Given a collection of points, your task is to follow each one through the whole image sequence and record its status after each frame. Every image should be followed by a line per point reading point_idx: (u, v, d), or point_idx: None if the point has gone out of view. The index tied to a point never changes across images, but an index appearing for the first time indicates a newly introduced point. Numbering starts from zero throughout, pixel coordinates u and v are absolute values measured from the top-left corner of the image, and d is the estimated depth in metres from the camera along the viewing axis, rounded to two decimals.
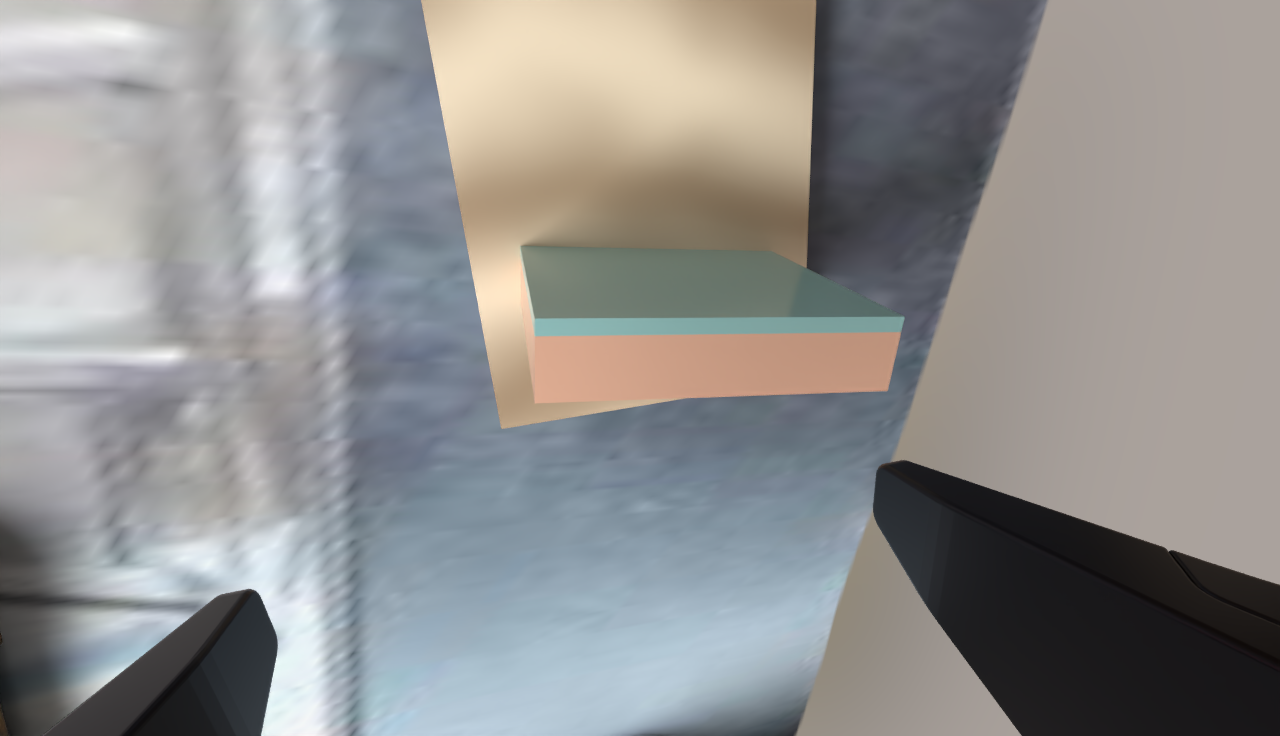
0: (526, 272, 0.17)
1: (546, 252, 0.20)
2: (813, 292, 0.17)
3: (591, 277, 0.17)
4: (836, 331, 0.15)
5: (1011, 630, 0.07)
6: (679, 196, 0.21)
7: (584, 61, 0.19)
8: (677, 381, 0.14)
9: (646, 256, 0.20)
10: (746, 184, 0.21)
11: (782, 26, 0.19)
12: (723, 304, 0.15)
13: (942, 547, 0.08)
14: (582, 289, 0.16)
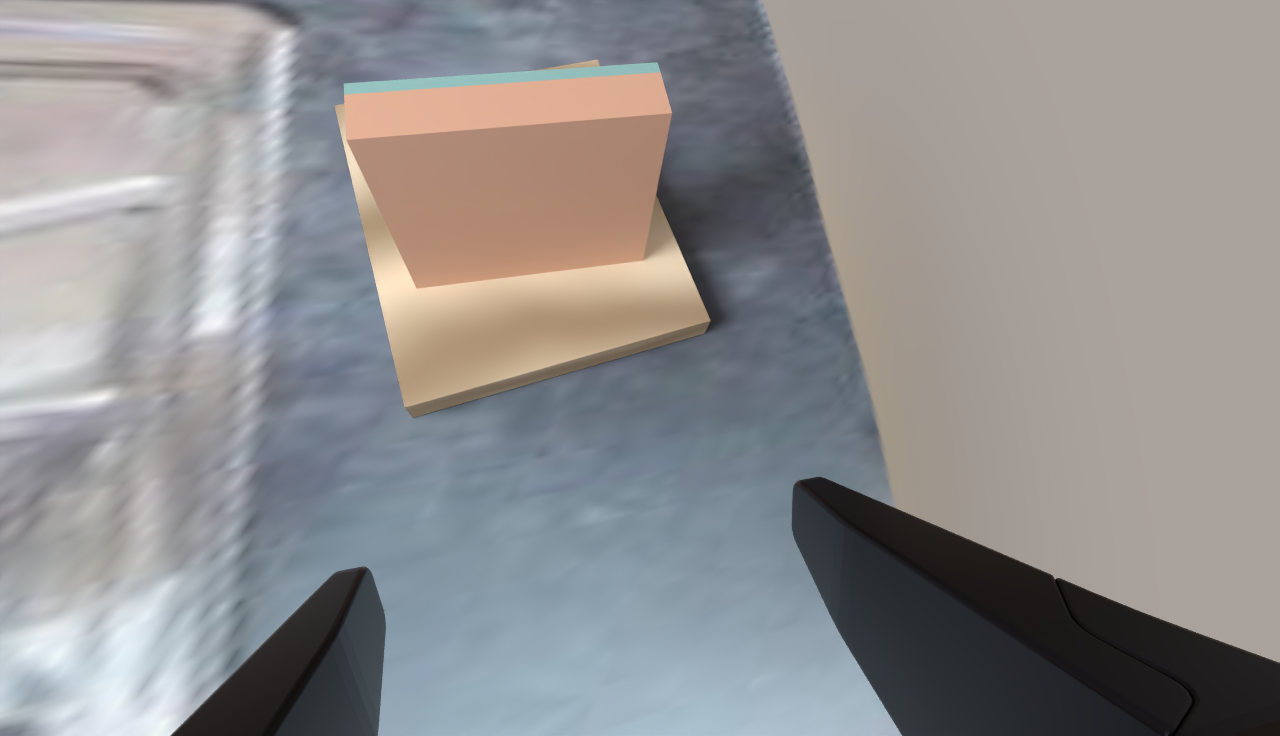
0: None
1: None
2: None
3: None
4: (604, 79, 0.18)
5: (906, 657, 0.07)
6: None
7: None
8: (471, 117, 0.17)
9: None
10: None
11: None
12: None
13: (846, 569, 0.08)
14: None
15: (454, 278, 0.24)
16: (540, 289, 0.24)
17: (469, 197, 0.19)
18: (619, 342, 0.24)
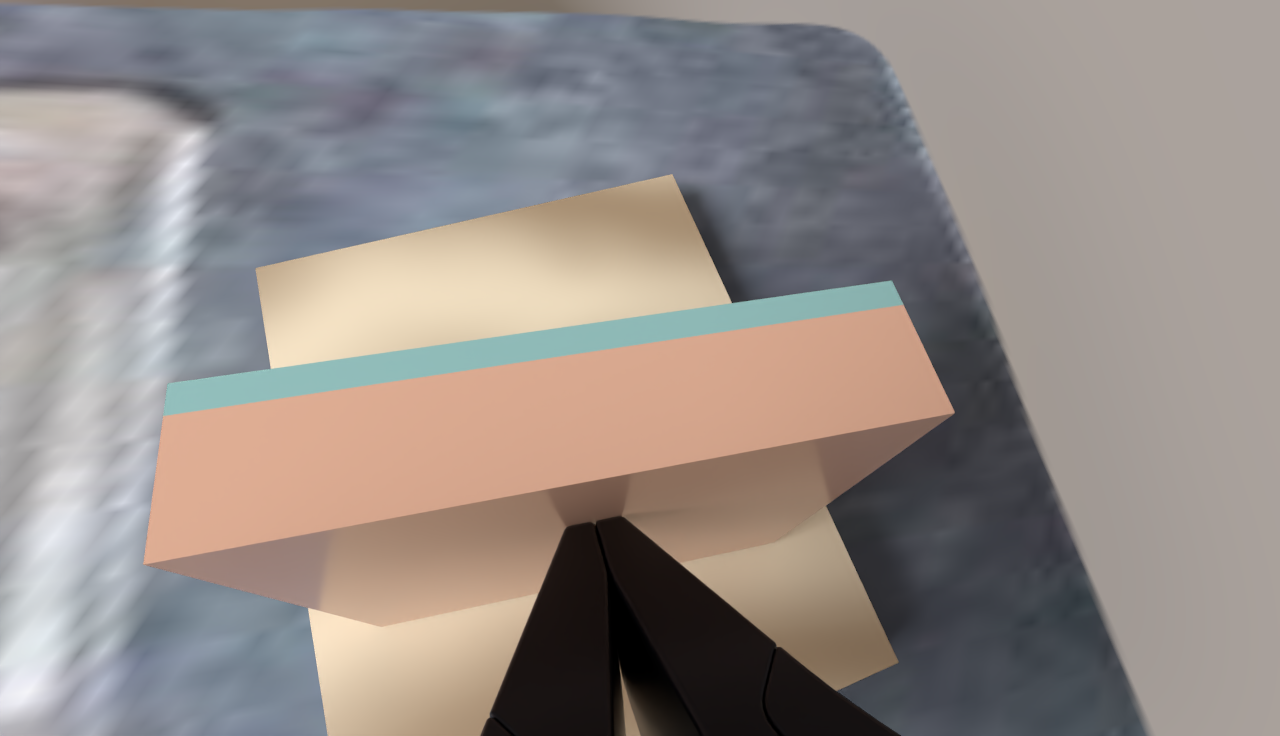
0: None
1: None
2: None
3: None
4: (782, 326, 0.08)
5: (653, 723, 0.07)
6: None
7: (445, 307, 0.16)
8: (482, 462, 0.07)
9: None
10: None
11: (660, 233, 0.18)
12: None
13: (618, 621, 0.07)
14: None
15: (449, 609, 0.13)
16: None
17: (477, 557, 0.09)
18: None
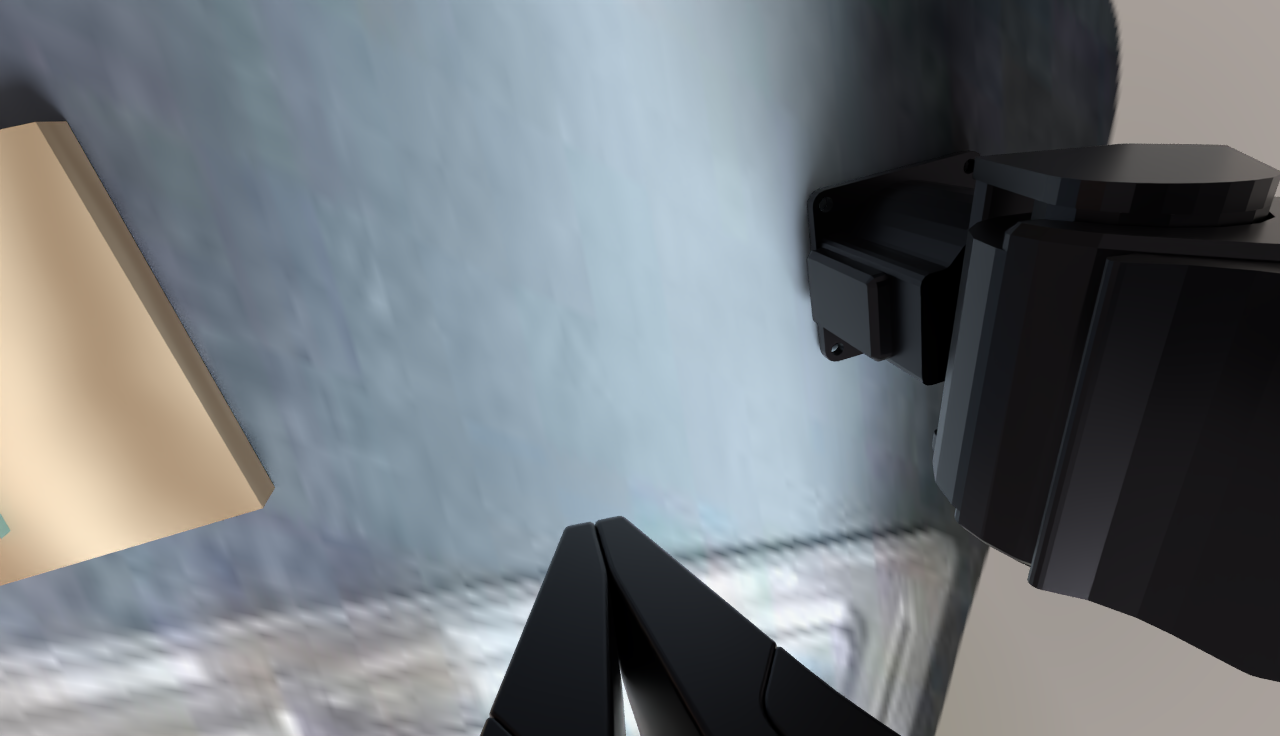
0: None
1: None
2: None
3: None
4: None
5: (653, 723, 0.07)
6: None
7: None
8: None
9: None
10: None
11: None
12: None
13: (618, 621, 0.07)
14: None
15: None
16: (45, 376, 0.17)
17: None
18: (115, 271, 0.17)
